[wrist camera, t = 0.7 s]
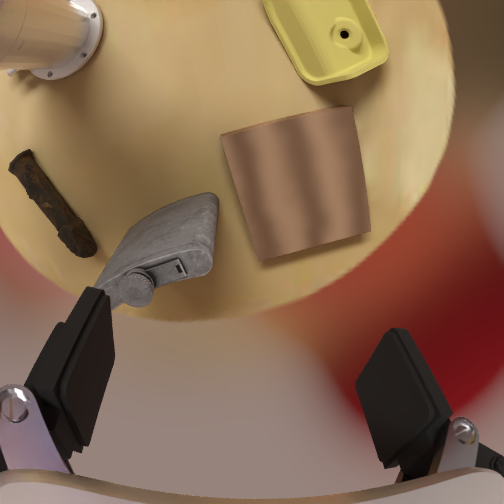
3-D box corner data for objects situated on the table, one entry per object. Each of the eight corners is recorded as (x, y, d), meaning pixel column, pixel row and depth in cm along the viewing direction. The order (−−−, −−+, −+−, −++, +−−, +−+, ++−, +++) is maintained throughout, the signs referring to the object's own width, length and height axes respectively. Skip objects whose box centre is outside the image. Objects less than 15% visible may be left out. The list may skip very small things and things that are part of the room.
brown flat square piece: (257, 251, 46) (258, 261, 43) (221, 134, 38) (220, 138, 35) (363, 222, 44) (371, 230, 42) (343, 105, 36) (351, 106, 34)
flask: (121, 226, 43) (69, 304, 27) (210, 183, 41) (196, 248, 25) (133, 247, 44) (91, 331, 29) (222, 207, 42) (217, 284, 27)
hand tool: (17, 162, 37) (0, 171, 33) (32, 145, 36) (14, 153, 32) (87, 256, 45) (75, 272, 41) (104, 244, 44) (92, 259, 40)
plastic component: (393, 58, 31) (346, 82, 29) (352, 64, 38) (305, 88, 35) (324, -72, 21) (261, -69, 19) (290, -51, 27) (231, -41, 25)
